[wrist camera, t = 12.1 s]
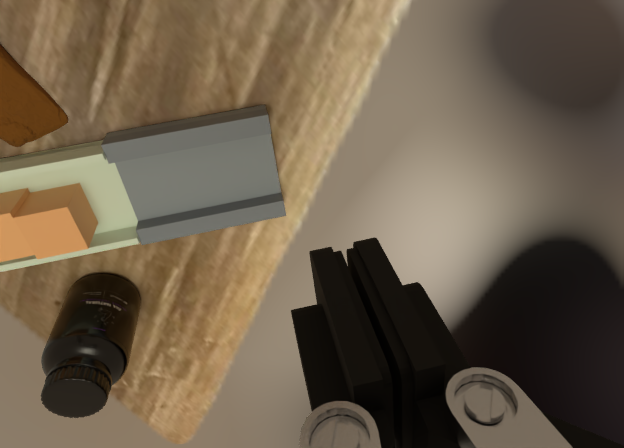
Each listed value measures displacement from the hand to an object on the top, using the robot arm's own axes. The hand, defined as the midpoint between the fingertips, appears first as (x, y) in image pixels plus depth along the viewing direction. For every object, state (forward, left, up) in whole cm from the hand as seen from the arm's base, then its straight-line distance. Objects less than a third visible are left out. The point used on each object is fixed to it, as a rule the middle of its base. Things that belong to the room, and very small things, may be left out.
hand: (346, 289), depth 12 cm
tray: (+10, -19, -29) cm, 36 cm away
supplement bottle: (+21, -19, -29) cm, 41 cm away
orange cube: (+10, -18, -28) cm, 35 cm away
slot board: (+10, -6, -29) cm, 31 cm away
